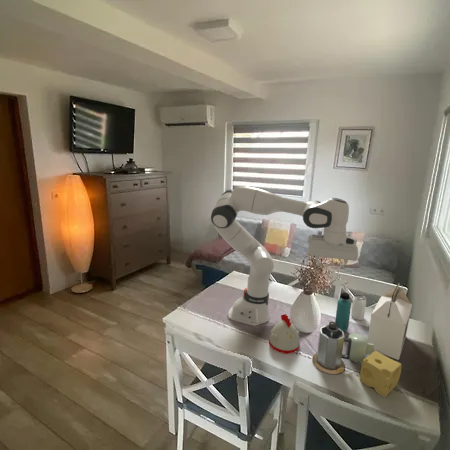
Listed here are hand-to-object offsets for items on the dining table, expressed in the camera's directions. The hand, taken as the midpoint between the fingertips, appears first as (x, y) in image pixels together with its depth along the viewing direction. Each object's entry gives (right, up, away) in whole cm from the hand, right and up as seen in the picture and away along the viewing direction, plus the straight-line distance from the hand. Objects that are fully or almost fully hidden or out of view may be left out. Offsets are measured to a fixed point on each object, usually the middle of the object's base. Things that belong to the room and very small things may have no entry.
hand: (330, 267), depth 126 cm
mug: (+13, -40, +2) cm, 42 cm away
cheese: (+14, -44, -13) cm, 48 cm away
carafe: (-2, -41, -3) cm, 41 cm away
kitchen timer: (-18, -37, +10) cm, 43 cm away
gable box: (+31, -38, +12) cm, 50 cm away
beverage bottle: (+13, -35, +21) cm, 43 cm away
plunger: (-2, -34, -4) cm, 35 cm away
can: (+26, -32, +32) cm, 53 cm away
